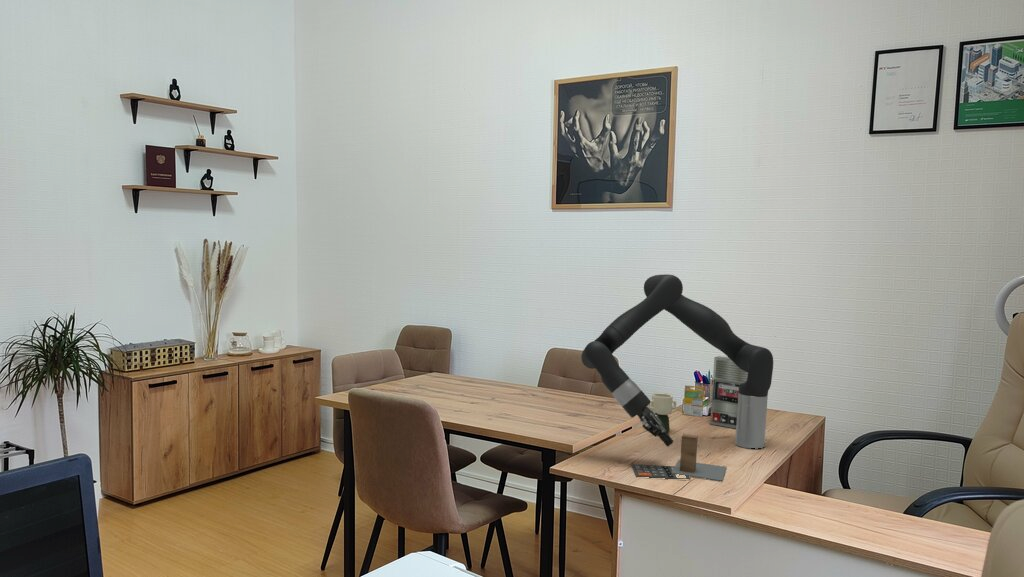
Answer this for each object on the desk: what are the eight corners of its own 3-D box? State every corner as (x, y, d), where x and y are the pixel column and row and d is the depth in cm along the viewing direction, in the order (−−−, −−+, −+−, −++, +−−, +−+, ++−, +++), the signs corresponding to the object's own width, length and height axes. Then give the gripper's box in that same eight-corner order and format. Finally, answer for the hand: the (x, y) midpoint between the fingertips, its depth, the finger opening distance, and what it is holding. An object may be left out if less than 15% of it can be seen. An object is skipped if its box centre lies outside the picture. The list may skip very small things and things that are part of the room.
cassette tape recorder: (709, 424, 268) (713, 357, 267) (714, 421, 273) (718, 356, 272) (746, 431, 260) (751, 362, 259) (751, 428, 265) (756, 360, 264)
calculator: (631, 463, 212) (683, 466, 212) (631, 466, 212) (682, 469, 212) (636, 475, 201) (691, 478, 200) (636, 479, 201) (691, 482, 200)
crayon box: (702, 415, 284) (704, 385, 283) (702, 416, 281) (704, 387, 280) (683, 413, 285) (684, 384, 285) (683, 414, 283) (684, 385, 282)
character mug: (670, 428, 259) (672, 392, 258) (679, 434, 252) (681, 397, 251) (641, 429, 256) (643, 392, 255) (650, 434, 249) (652, 397, 248)
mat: (678, 461, 218) (678, 460, 218) (726, 468, 213) (726, 466, 213) (671, 474, 205) (671, 472, 205) (722, 481, 200) (722, 480, 200)
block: (681, 467, 211) (683, 433, 210) (695, 469, 210) (697, 435, 209) (679, 470, 207) (681, 436, 207) (694, 472, 206) (696, 438, 205)
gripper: (635, 393, 206) (677, 441, 203) (644, 386, 219) (683, 431, 215) (616, 409, 209) (657, 457, 205) (626, 401, 221) (664, 446, 217)
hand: (670, 444), depth 210 cm, fingers closed
